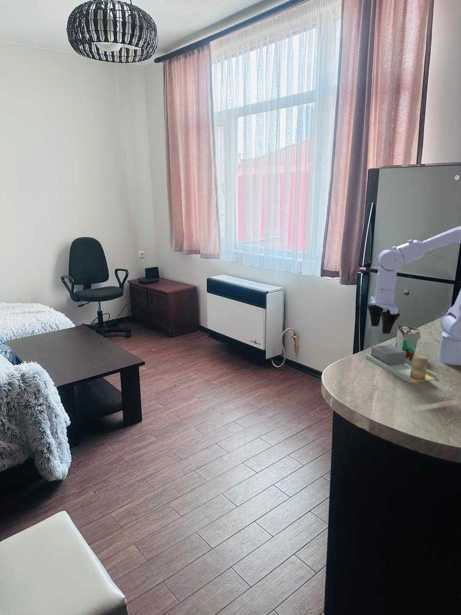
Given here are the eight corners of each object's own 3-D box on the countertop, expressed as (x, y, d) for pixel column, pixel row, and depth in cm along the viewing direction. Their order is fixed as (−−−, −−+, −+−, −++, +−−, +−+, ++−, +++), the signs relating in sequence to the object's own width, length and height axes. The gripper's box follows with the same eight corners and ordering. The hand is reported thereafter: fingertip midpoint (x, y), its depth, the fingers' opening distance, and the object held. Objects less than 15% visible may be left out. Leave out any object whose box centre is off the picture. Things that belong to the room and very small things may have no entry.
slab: (389, 355, 140) (391, 344, 139) (404, 363, 133) (406, 351, 132) (370, 358, 137) (371, 346, 136) (384, 366, 131) (386, 354, 130)
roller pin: (417, 373, 126) (420, 354, 124) (428, 379, 122) (431, 359, 120) (406, 375, 124) (409, 356, 123) (416, 380, 121) (419, 361, 119)
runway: (390, 357, 141) (391, 351, 141) (436, 381, 123) (437, 374, 122) (364, 360, 138) (365, 354, 137) (408, 386, 120) (409, 378, 119)
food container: (421, 365, 135) (425, 335, 132) (400, 364, 136) (404, 334, 133) (412, 352, 146) (416, 324, 144) (394, 350, 147) (397, 323, 145)
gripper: (363, 283, 140) (358, 323, 144) (384, 293, 126) (379, 337, 130) (383, 283, 141) (378, 322, 145) (406, 293, 127) (400, 336, 131)
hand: (380, 329), depth 137 cm, fingers open, 7 cm apart
